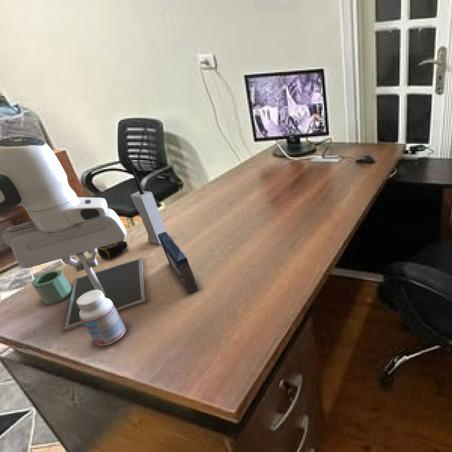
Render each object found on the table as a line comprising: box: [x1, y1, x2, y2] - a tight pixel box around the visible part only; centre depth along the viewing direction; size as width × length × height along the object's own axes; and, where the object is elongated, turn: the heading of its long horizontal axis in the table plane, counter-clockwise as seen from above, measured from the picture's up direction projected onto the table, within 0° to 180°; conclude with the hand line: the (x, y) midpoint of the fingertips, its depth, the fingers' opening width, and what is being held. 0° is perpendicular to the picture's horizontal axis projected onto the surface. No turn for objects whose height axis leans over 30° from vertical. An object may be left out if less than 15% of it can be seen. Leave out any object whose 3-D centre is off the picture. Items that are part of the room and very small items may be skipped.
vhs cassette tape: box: [158, 231, 199, 294], centre depth 92 cm, size 18×3×10 cm, turn 36°
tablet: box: [63, 257, 147, 332], centre depth 91 cm, size 17×22×1 cm
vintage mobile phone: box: [130, 167, 167, 246], centre depth 106 cm, size 4×5×25 cm
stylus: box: [75, 252, 106, 296], centre depth 81 cm, size 1×1×13 cm
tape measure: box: [97, 240, 129, 259], centre depth 107 cm, size 7×7×4 cm
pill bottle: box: [77, 290, 127, 347], centre depth 74 cm, size 6×6×11 cm
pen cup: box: [31, 269, 73, 305], centre depth 90 cm, size 6×6×6 cm
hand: (87, 267), depth 80 cm, fingers closed on stylus, 1 cm apart
